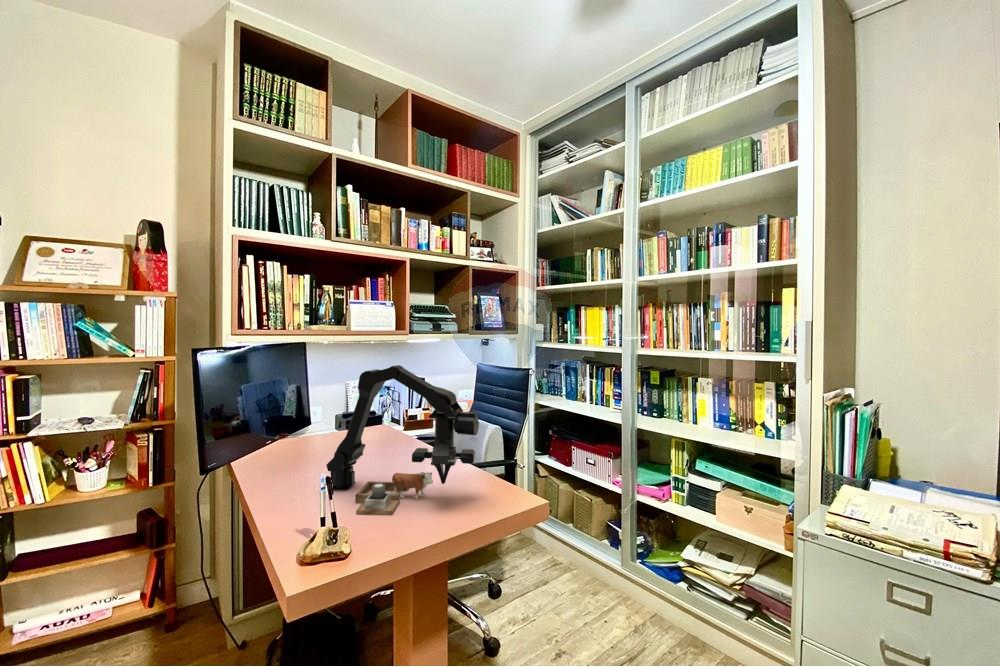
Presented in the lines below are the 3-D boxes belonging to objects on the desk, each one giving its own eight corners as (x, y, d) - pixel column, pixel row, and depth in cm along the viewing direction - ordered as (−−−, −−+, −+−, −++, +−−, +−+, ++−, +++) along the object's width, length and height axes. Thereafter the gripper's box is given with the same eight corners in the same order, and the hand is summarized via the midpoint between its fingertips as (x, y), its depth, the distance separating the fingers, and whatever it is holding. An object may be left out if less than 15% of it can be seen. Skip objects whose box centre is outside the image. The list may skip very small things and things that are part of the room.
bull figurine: (431, 502, 122) (431, 475, 122) (389, 497, 125) (390, 471, 125) (436, 496, 126) (436, 470, 126) (396, 492, 129) (396, 466, 129)
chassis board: (345, 514, 113) (345, 500, 113) (367, 489, 131) (367, 477, 131) (392, 515, 113) (392, 501, 113) (407, 490, 131) (407, 478, 131)
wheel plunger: (370, 498, 115) (370, 487, 115) (374, 493, 119) (374, 482, 119) (382, 499, 115) (382, 487, 115) (386, 493, 118) (386, 483, 118)
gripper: (407, 439, 117) (406, 493, 118) (472, 440, 117) (471, 494, 117) (416, 429, 129) (415, 479, 129) (475, 431, 128) (474, 480, 128)
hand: (443, 483), depth 125 cm, fingers closed
